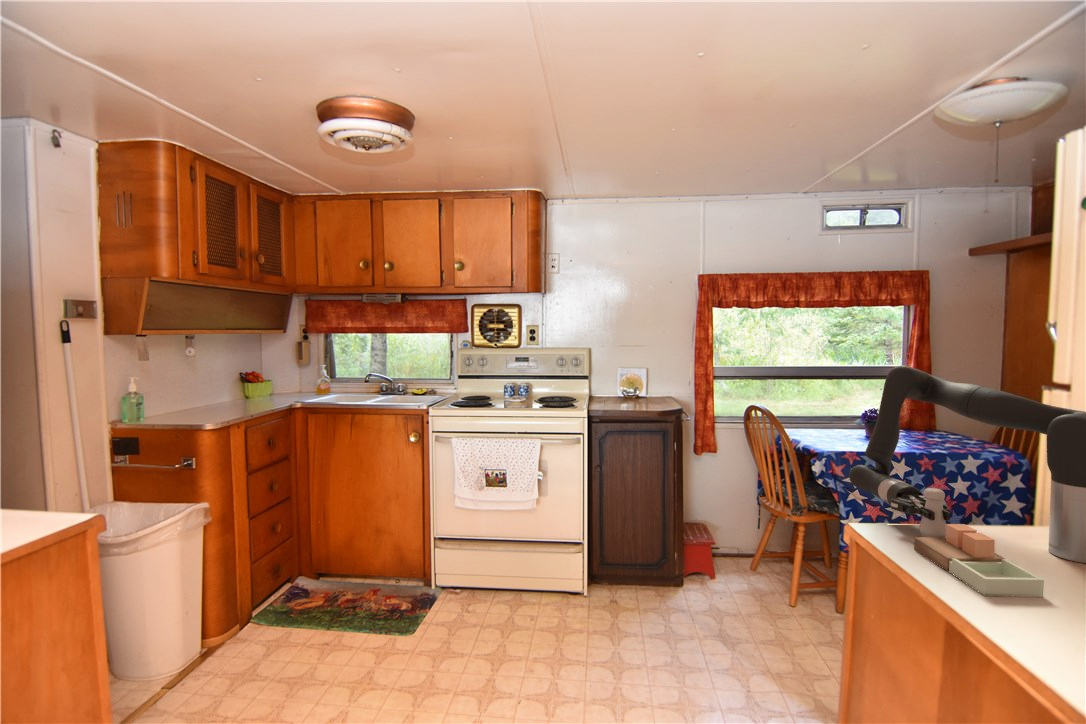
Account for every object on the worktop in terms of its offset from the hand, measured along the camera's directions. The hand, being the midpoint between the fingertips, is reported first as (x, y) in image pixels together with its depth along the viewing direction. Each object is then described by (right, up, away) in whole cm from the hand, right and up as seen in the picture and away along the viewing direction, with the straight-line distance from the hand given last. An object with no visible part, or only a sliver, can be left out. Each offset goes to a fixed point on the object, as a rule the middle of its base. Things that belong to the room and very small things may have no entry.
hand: (940, 516), depth 133 cm
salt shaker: (0, -7, +3) cm, 8 cm away
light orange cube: (0, -4, -7) cm, 8 cm away
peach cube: (-1, -5, -12) cm, 13 cm away
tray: (-4, -8, -20) cm, 22 cm away
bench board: (-2, -8, -9) cm, 12 cm away
